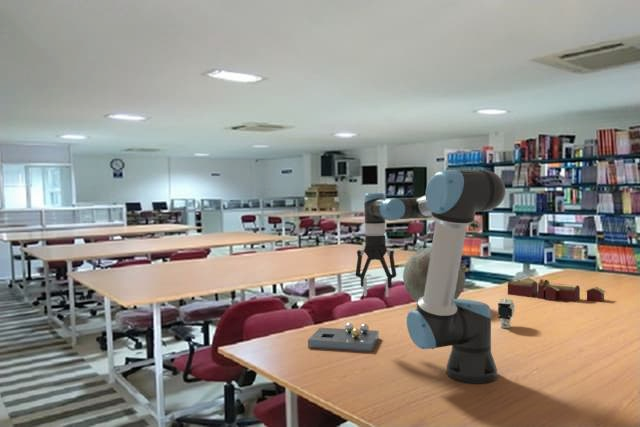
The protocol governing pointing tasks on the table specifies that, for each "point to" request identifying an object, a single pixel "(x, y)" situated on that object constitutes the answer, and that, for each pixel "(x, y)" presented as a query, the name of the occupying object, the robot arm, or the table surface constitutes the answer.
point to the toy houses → (551, 291)
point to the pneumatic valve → (505, 312)
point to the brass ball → (355, 332)
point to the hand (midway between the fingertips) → (376, 295)
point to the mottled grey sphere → (424, 275)
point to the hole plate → (343, 340)
